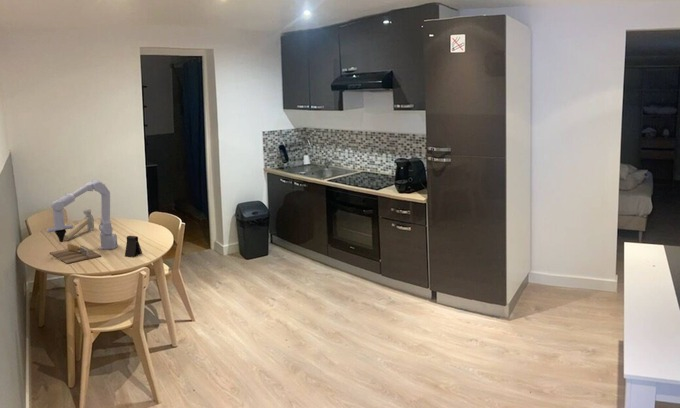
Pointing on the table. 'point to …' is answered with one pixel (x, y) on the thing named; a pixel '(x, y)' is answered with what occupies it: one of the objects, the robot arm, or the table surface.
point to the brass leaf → (73, 247)
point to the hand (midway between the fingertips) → (61, 241)
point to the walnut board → (73, 255)
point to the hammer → (81, 225)
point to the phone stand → (132, 247)
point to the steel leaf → (83, 251)
